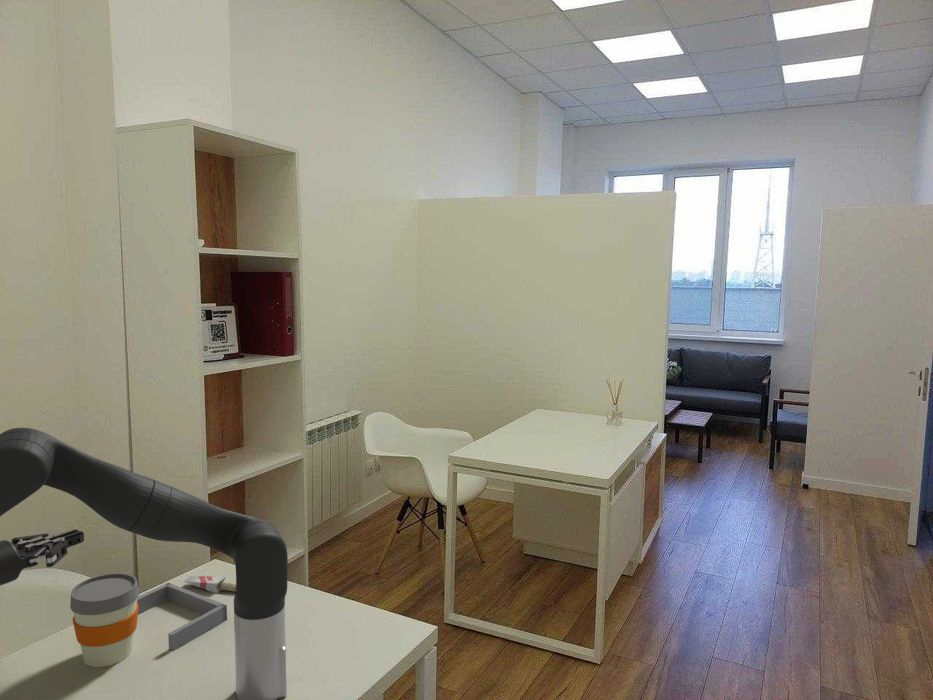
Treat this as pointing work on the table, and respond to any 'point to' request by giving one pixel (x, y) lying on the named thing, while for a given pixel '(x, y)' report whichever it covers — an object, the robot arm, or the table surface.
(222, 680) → the table surface
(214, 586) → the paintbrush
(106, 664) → the reusable coffee cup
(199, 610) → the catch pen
